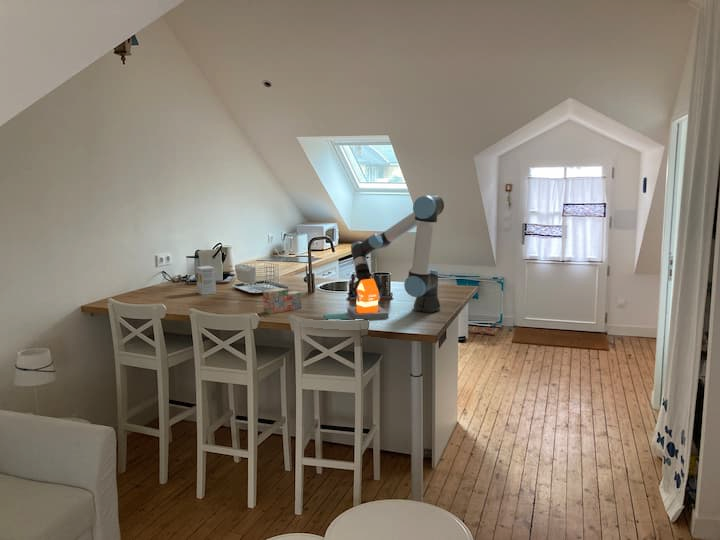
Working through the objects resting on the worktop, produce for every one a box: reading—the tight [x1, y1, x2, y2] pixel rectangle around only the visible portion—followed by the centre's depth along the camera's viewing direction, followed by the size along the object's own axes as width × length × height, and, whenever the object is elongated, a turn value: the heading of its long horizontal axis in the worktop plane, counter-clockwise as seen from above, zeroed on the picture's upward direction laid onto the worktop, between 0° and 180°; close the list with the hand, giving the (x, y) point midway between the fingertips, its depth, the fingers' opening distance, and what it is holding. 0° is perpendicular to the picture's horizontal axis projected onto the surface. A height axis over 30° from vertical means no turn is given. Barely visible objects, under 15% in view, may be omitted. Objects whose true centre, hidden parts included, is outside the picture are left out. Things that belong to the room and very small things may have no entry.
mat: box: [323, 312, 351, 320], centre depth 317 cm, size 12×12×1 cm
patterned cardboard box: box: [262, 287, 303, 315], centre depth 333 cm, size 21×6×12 cm, turn 130°
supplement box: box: [195, 265, 217, 296], centre depth 380 cm, size 10×9×17 cm
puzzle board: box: [346, 305, 389, 321], centre depth 321 cm, size 18×18×3 cm
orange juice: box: [356, 277, 379, 313], centre depth 320 cm, size 8×9×20 cm
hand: (369, 300), depth 317 cm, fingers closed on orange juice, 10 cm apart
